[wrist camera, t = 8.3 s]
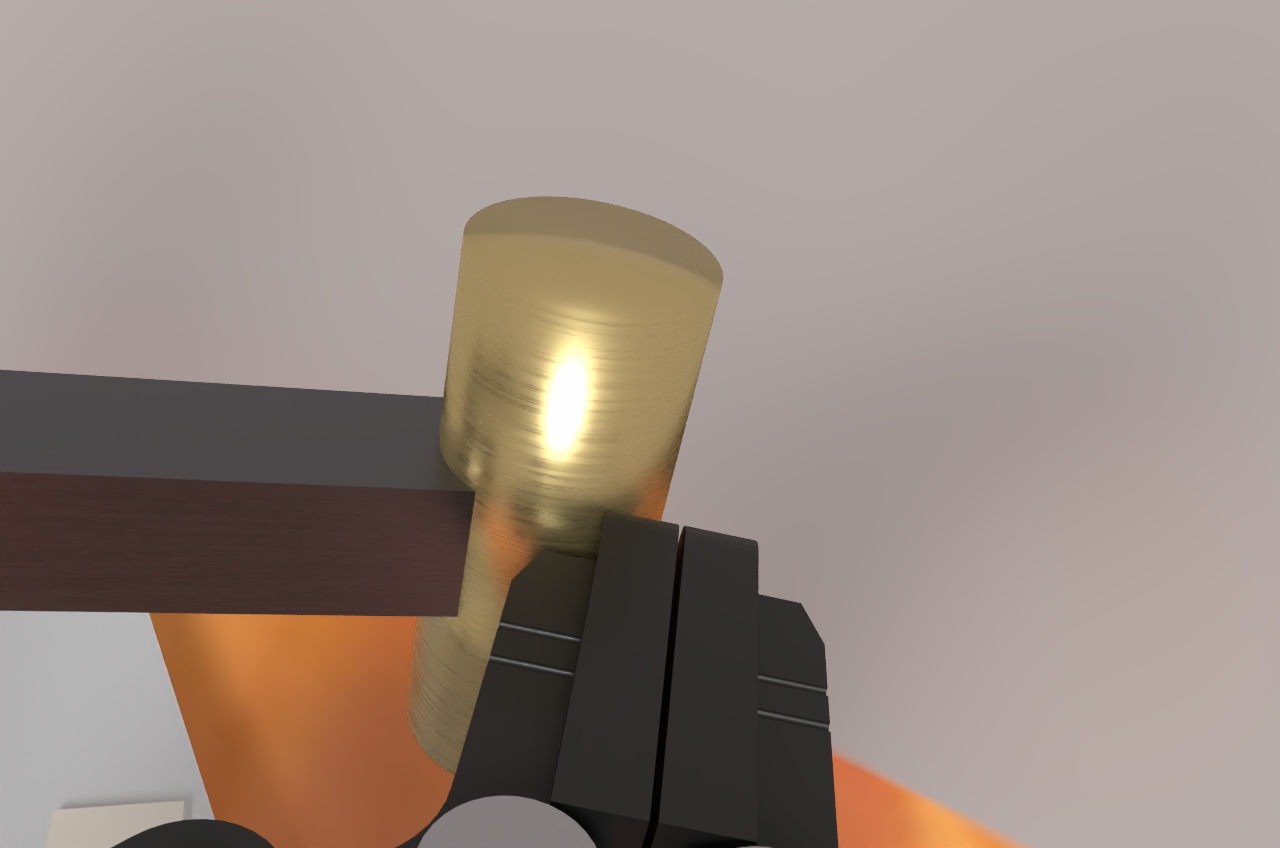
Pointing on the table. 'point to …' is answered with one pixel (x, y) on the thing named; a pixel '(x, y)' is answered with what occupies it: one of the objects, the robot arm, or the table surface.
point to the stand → (89, 732)
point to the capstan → (380, 457)
